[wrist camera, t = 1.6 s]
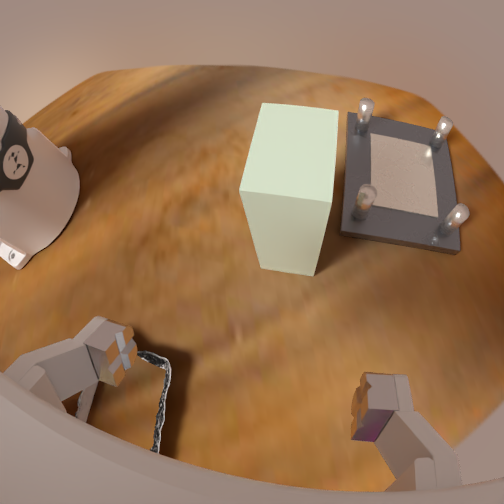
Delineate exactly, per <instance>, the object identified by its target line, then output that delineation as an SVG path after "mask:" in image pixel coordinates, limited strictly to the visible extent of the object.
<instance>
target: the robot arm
mask: <svg viewBox="0 0 504 504" xmlns="http://www.w3.org/2000/svg"><path fill="white" fill-rule="evenodd" d="M79 189H80V180H79V175H78V172H77V170H76V168H75V167H74V166H73V164H72V162H71V151H70V150H69V149H68V148H67V147H60V148H57V147H56V146H55V145H54V144H53V143H52V142H51V141H50V140H49V139H48V138H46V137H45V136H44V135H43V134H42V133H41V132H40V131H39V130H38V129H36V128H28V129H26V128H25V127H24V126H23V124H22V123H21V121H20V120H19V119H18V118H17V117H16V116H15V115H13V114H12V113H11V112H10V111H8V110H4V109H3V108H2V107H1V106H0V256H1V257H2V258H3V259H4V260H5V261H7V262H8V263H9V264H10V265H12V266H13V267H14V268H16V269H18V270H19V269H21V268H23V267H24V265H25V264H26V263H27V262H28V261H29V259H30V258H31V257H32V256H33V255H34V254H35V253H37V252H39V251H40V250H42V249H44V248H45V247H46V246H48V245H49V244H50V243H51V242H52V241H53V240H54V239H55V238H56V237H57V236H58V235H59V234H60V232H61V231H62V230H63V228H64V227H65V225H66V224H67V222H68V220H69V219H70V217H71V215H72V213H73V210H74V208H75V205H76V203H77V199H78V195H79ZM133 336H134V332H133V328H132V327H131V326H128V325H125V324H122V323H119V322H116V321H113V320H110V319H106V318H104V317H101V316H96V317H94V318H93V319H92V320H91V321H90V322H89V323H88V324H87V325H86V326H85V327H84V328H83V329H82V330H81V331H80V332H79V333H78V334H77V335H76V336H75V337H74V338H73V339H70V338H69V339H66V340H63V341H61V342H58V343H55V344H52V345H49V346H46V347H43V348H40V349H37V350H34V351H31V352H29V353H26V354H23V355H21V356H20V357H19V358H18V359H17V360H16V361H15V362H14V363H13V364H12V365H11V366H10V367H9V368H8V369H7V370H6V371H5V372H4V373H2V372H0V504H504V477H503V478H498V479H494V480H489V481H485V482H480V483H474V484H468V485H462V479H461V472H460V467H459V460H458V455H457V454H456V452H455V451H454V450H453V449H452V448H451V447H450V446H449V445H448V444H447V443H446V442H445V440H444V439H443V438H442V437H441V436H440V435H439V434H438V433H437V432H436V431H435V430H434V428H433V427H432V426H431V425H430V424H429V423H428V422H427V421H426V420H425V419H424V418H423V416H422V415H421V414H420V413H419V412H414V407H413V401H412V396H411V391H410V385H409V380H408V377H407V375H400V374H385V373H373V372H364V373H363V374H362V376H361V379H360V386H359V387H358V388H356V391H355V393H354V396H353V400H352V407H351V414H352V415H353V417H354V420H353V422H352V424H351V440H356V441H367V442H375V443H374V444H375V445H376V447H377V448H378V450H379V452H380V453H381V455H382V457H383V458H384V460H385V462H386V463H387V465H388V466H389V468H390V470H391V471H392V473H393V475H394V476H395V478H396V481H395V482H394V483H393V484H392V485H391V486H390V487H388V488H387V489H386V490H385V491H384V492H352V491H334V490H321V489H311V488H302V487H294V486H287V485H280V484H274V483H268V482H262V481H257V480H252V479H247V478H242V477H238V476H233V475H229V474H225V473H221V472H217V471H213V470H209V469H206V468H202V467H198V466H195V465H192V464H188V463H185V462H182V461H179V460H176V459H172V458H169V457H167V456H164V455H161V454H158V453H155V452H152V451H150V450H147V449H144V448H142V447H139V446H137V445H134V444H132V443H129V442H127V441H124V440H122V439H120V438H117V437H115V436H113V435H110V434H108V433H106V432H104V431H102V430H99V429H97V428H95V427H93V426H91V425H89V424H87V423H85V422H83V421H81V420H79V419H77V418H75V417H73V416H71V415H69V414H68V413H67V412H66V409H65V407H64V405H63V404H62V402H61V401H63V400H65V399H67V398H69V397H71V396H72V395H74V394H76V393H78V392H80V391H82V390H83V389H85V388H87V387H89V386H91V385H93V384H94V383H96V382H98V380H100V381H102V382H105V383H108V384H111V385H113V386H116V387H117V386H118V385H119V383H120V382H121V381H122V379H123V378H124V376H125V370H126V369H128V368H130V367H132V365H133V364H134V362H135V360H136V356H137V345H136V343H135V342H134V340H133V339H132V337H133Z"/></svg>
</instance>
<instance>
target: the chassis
mask: <svg viewBox="0 0 504 504" xmlns="http://www.w3.org/2000/svg"><path fill="white" fill-rule="evenodd" d="M373 109H374V102H373V101H372V100H371V99H368V98H363V99H361V100H360V105H359V110H358V113H352V112H348V115H347V131H346V156H345V174H344V189H343V202H342V215H341V226H340V236H346V237H353V238H359V239H365V240H372V241H378V242H384V243H390V244H396V245H402V246H408V247H414V248H419V249H425V250H431V251H436V252H442V253H447V254H453V255H456V254H457V253H458V252H460V235H459V226H460V225H461V224H462V223H463V222H464V221H465V220H466V219H467V218H468V217H469V214H470V213H469V209H468V208H467V206H466V205H464V204H462V203H459V204H457V201H456V193H455V186H454V179H453V172H452V166H451V160H450V154H449V149H448V144H447V139H446V137H447V135H448V133H449V132H450V130H451V128H452V126H453V122H452V120H451V119H450V118H448V117H446V116H442V117H441V119H440V121H439V123H438V125H437V127H436V129H435V130H433V129H429V128H425V127H421V126H417V125H412V124H408V123H404V122H399V121H394V120H390V119H385V118H380V117H374V116H372V113H373Z"/></svg>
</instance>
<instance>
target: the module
mask: <svg viewBox="0 0 504 504" xmlns="http://www.w3.org/2000/svg"><path fill="white" fill-rule="evenodd" d="M337 130H338V111H337V110H330V109H322V108H314V107H305V106H296V105H285V104H273V103H262V106H261V109H260V113H259V117H258V120H257V124H256V128H255V132H254V135H253V139H252V143H251V147H250V150H249V154H248V158H247V162H246V166H245V169H244V173H243V177H242V181H241V185H240V189H239V192H240V195H241V199H242V202H243V206H244V210H245V213H246V217H247V220H248V224H249V227H250V231H251V235H252V238H253V242H254V245H255V249H256V252H257V256H258V260H259V263H260V267H261V268H262V269H269V270H275V271H282V272H288V273H294V274H301V275H307V276H314V273H315V269H316V265H317V261H318V258H319V254H320V250H321V246H322V242H323V238H324V234H325V230H326V226H327V221H328V217H329V213H330V209H331V204H332V196H333V185H334V174H335V161H336V146H337Z"/></svg>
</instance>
